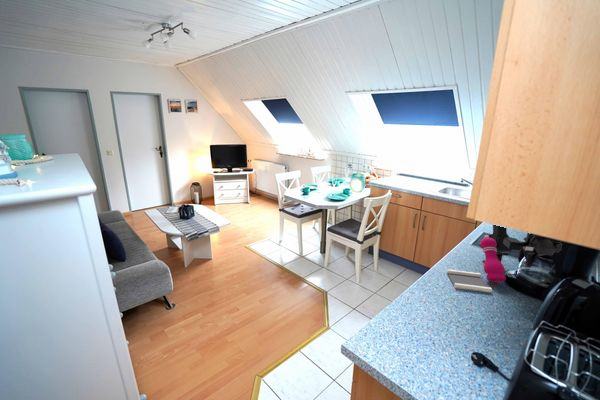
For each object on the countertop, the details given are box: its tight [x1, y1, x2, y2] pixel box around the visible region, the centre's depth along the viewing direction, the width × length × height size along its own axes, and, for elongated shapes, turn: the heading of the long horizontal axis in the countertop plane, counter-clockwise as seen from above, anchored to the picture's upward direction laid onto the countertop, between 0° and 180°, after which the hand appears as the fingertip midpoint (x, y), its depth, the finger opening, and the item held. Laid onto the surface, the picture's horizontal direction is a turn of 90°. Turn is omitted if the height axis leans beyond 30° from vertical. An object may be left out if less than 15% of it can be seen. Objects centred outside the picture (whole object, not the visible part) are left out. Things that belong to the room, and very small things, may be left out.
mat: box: [446, 269, 493, 294], centre depth 115 cm, size 12×13×2 cm
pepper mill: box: [479, 235, 507, 283], centre depth 118 cm, size 7×7×20 cm
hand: (528, 265), depth 108 cm, fingers closed
